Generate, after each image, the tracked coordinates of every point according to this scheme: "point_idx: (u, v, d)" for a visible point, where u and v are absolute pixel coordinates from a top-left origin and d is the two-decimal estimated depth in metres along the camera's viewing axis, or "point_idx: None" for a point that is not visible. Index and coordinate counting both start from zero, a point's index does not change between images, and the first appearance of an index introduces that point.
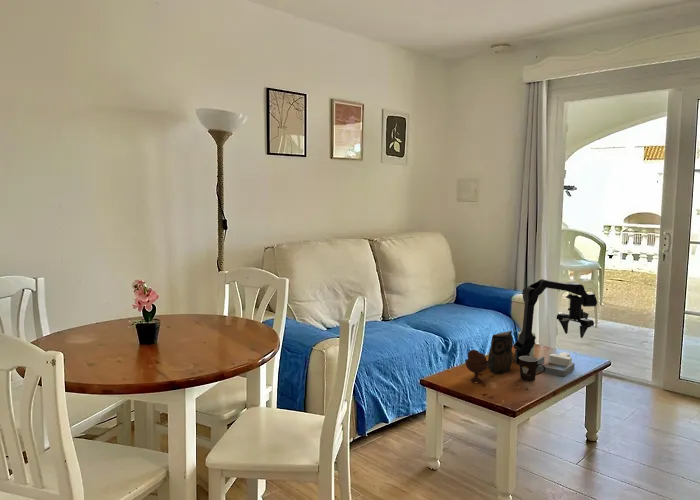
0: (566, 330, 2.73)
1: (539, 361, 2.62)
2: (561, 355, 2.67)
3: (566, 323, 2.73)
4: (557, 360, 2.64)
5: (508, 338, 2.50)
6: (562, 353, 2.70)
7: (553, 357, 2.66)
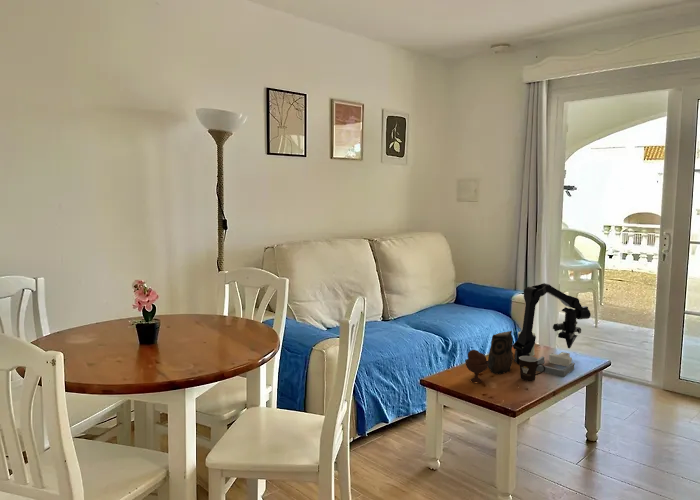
0: None
1: (539, 361, 2.62)
2: (561, 355, 2.67)
3: None
4: (557, 360, 2.64)
5: (508, 338, 2.50)
6: (562, 353, 2.70)
7: (553, 357, 2.66)
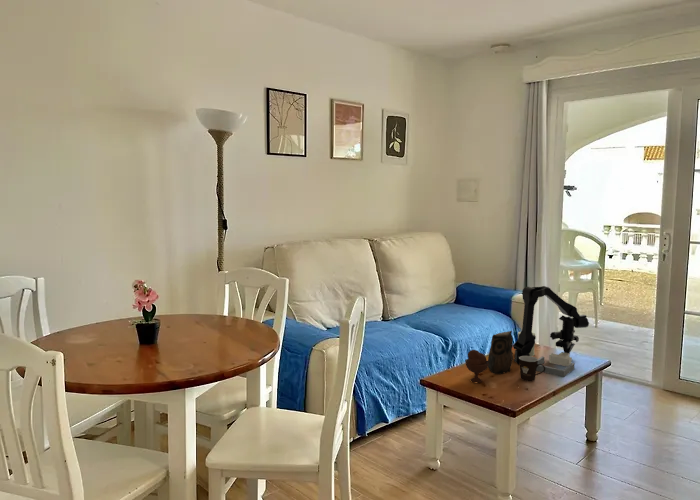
0: None
1: (539, 361, 2.62)
2: (561, 355, 2.67)
3: None
4: (557, 360, 2.64)
5: (508, 338, 2.50)
6: (562, 353, 2.70)
7: (553, 357, 2.66)
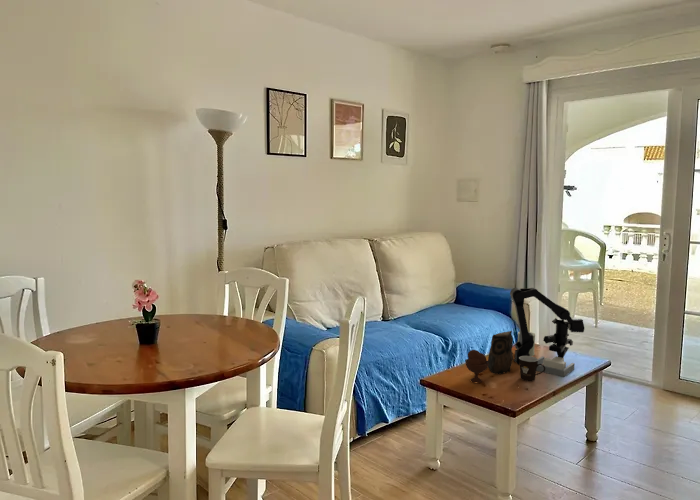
0: None
1: (539, 361, 2.62)
2: (555, 359, 2.60)
3: None
4: (551, 365, 2.57)
5: (508, 338, 2.50)
6: (556, 357, 2.63)
7: (547, 362, 2.58)
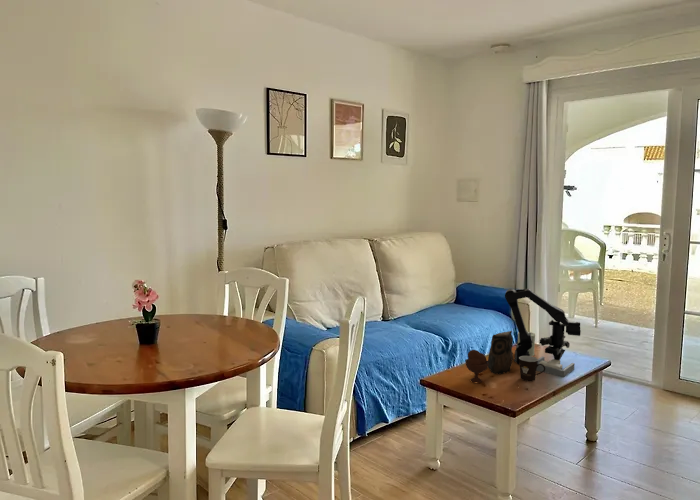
0: None
1: (539, 361, 2.62)
2: (551, 362, 2.56)
3: None
4: None
5: (508, 338, 2.50)
6: (552, 360, 2.59)
7: (543, 364, 2.54)
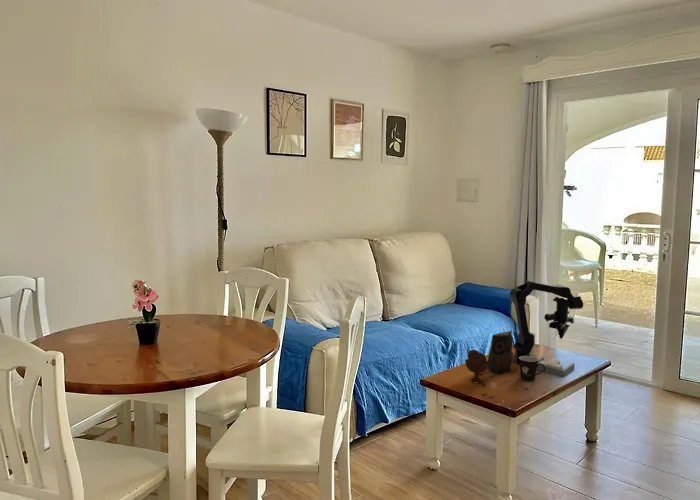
0: None
1: (539, 361, 2.62)
2: (551, 362, 2.56)
3: None
4: None
5: (508, 338, 2.50)
6: (552, 360, 2.59)
7: (543, 364, 2.54)
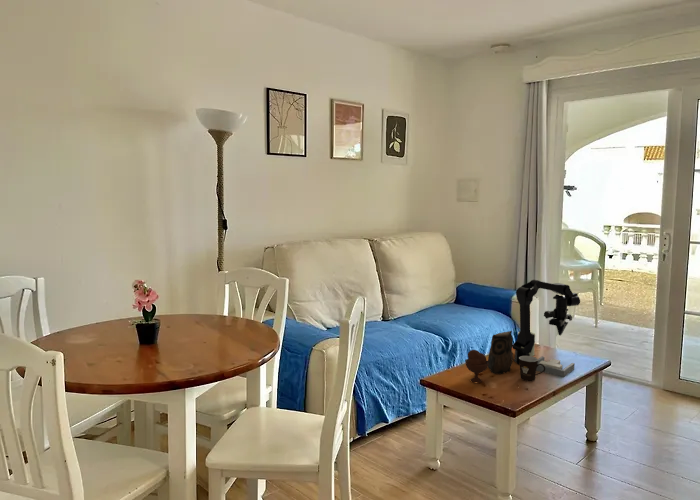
0: None
1: (539, 361, 2.62)
2: (551, 362, 2.56)
3: None
4: None
5: (508, 338, 2.50)
6: (552, 360, 2.59)
7: (543, 364, 2.54)
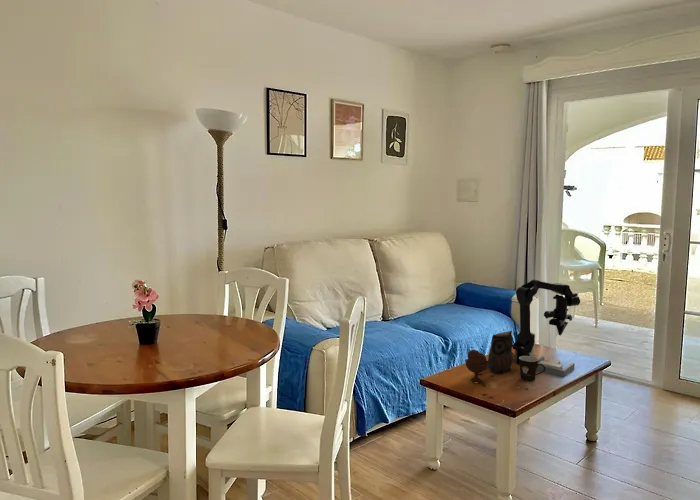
0: None
1: (539, 361, 2.62)
2: (551, 362, 2.56)
3: None
4: None
5: (508, 338, 2.50)
6: (552, 360, 2.59)
7: (543, 364, 2.54)
